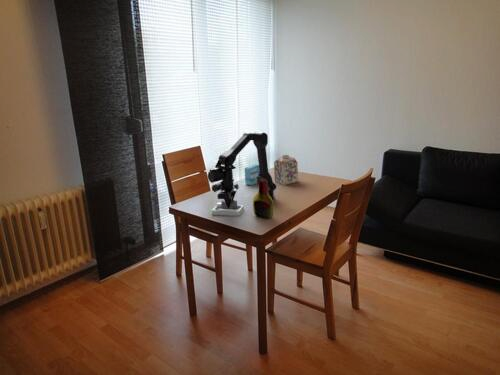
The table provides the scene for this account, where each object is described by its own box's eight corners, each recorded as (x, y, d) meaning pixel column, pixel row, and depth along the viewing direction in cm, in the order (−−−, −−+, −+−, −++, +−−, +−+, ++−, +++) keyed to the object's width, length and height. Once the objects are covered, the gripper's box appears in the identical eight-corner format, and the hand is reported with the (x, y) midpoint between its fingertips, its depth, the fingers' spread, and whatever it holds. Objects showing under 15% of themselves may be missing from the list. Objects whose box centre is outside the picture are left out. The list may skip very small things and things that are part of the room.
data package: (250, 185, 235) (249, 168, 231) (245, 184, 238) (244, 167, 235) (262, 181, 243) (261, 164, 239) (257, 180, 246) (257, 163, 242)
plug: (238, 207, 192) (237, 200, 191) (236, 209, 189) (235, 202, 187) (218, 206, 195) (218, 199, 193) (216, 209, 191) (216, 202, 190)
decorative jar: (288, 178, 247) (287, 152, 242) (298, 181, 238) (298, 155, 232) (273, 181, 242) (272, 155, 236) (283, 185, 232) (283, 158, 227)
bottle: (276, 216, 182) (275, 179, 176) (269, 221, 177) (267, 182, 171) (258, 212, 189) (256, 176, 183) (250, 216, 185) (248, 179, 179)
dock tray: (243, 209, 194) (243, 205, 194) (239, 215, 186) (239, 211, 185) (217, 208, 198) (217, 204, 197) (212, 214, 190) (211, 210, 189)
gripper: (218, 173, 197) (220, 199, 201) (206, 183, 180) (209, 212, 184) (238, 173, 194) (239, 200, 199) (227, 183, 177) (229, 212, 182)
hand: (229, 206), depth 191 cm, fingers closed on plug, 3 cm apart
